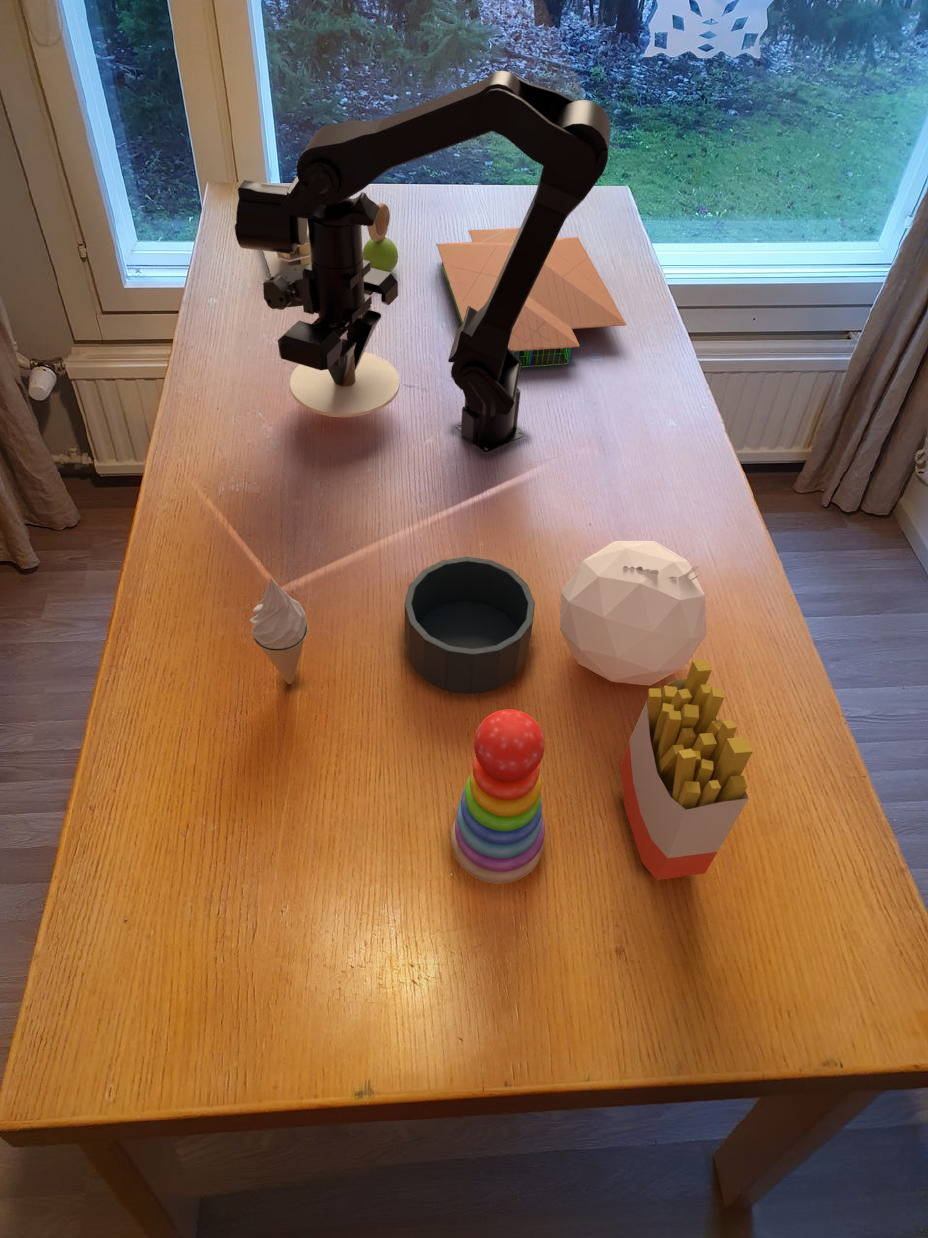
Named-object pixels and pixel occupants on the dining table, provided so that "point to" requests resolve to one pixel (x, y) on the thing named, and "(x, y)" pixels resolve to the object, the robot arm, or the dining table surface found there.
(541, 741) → the stacking toy
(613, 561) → the geodesic sphere
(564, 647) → the dining table surface
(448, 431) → the dining table surface
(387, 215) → the snail figurine
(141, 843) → the dining table surface
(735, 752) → the french fries container
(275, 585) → the ice cream cone
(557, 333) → the house
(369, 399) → the round peg stand
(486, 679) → the container
